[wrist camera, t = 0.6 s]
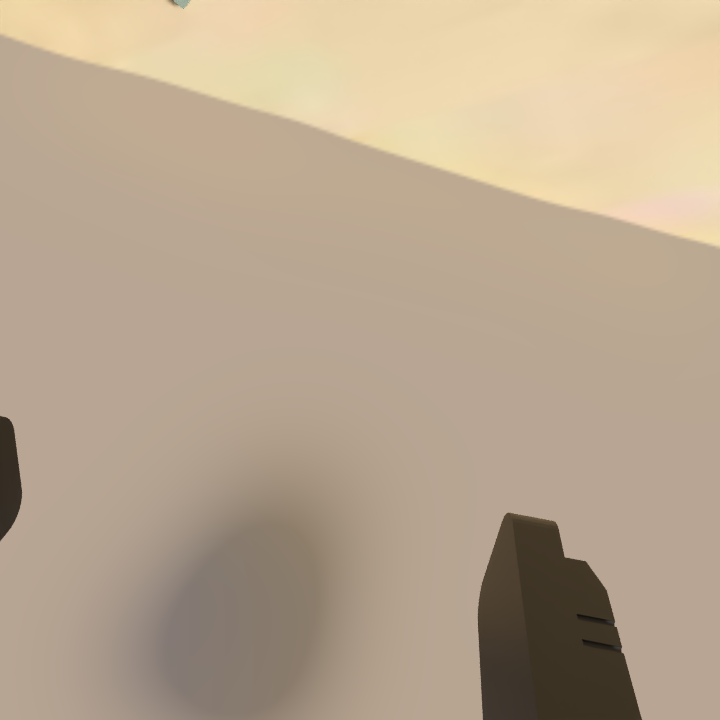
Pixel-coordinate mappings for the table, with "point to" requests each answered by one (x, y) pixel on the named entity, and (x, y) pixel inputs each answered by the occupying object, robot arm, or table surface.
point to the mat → (182, 3)
